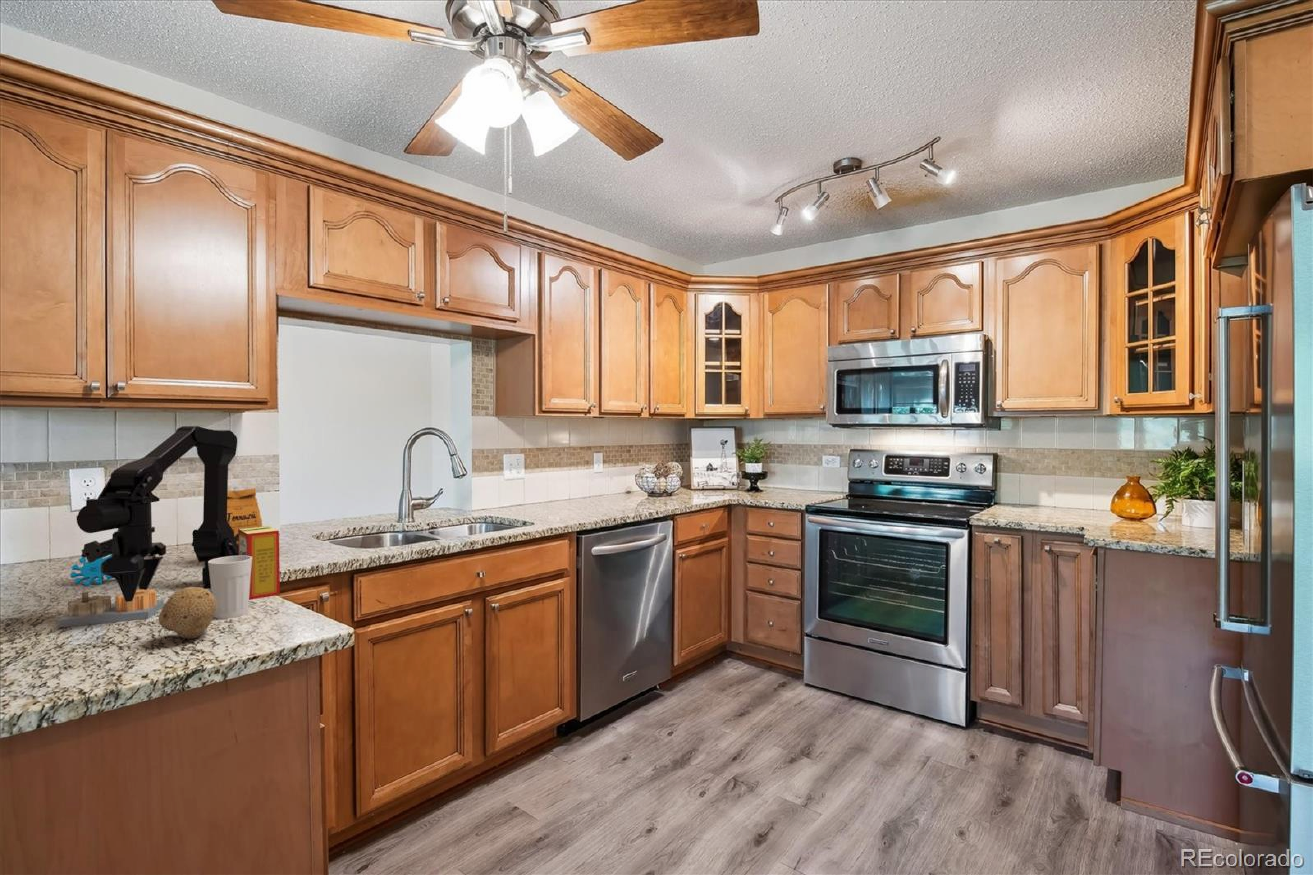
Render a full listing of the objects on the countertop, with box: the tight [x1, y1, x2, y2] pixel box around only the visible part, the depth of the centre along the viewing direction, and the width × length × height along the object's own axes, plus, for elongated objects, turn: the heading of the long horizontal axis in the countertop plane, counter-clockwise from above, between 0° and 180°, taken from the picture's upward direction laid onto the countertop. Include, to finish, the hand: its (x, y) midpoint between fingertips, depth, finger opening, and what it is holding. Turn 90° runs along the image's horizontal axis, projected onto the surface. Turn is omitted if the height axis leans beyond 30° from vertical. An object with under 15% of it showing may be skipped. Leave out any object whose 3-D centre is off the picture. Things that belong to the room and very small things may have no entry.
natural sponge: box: [158, 586, 217, 639], centre depth 122 cm, size 9×9×10 cm
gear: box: [70, 554, 114, 587], centre depth 165 cm, size 11×6×10 cm
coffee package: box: [227, 487, 263, 544], centre depth 185 cm, size 10×12×22 cm
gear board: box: [56, 599, 165, 628], centre depth 136 cm, size 15×10×4 cm, turn 113°
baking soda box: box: [238, 525, 281, 601], centre depth 154 cm, size 10×6×16 cm
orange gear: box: [114, 589, 157, 612], centre depth 137 cm, size 7×7×3 cm
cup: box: [208, 556, 252, 619], centre depth 137 cm, size 8×8×12 cm
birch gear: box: [67, 591, 112, 616], centre depth 134 cm, size 7×7×4 cm
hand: (136, 596), depth 137 cm, fingers open, 8 cm apart
